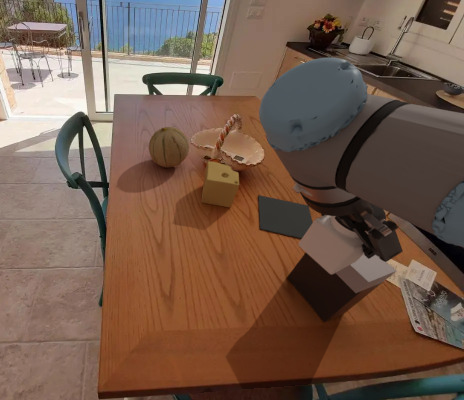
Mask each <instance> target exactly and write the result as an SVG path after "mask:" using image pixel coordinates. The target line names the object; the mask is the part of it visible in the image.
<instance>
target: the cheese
mask: <svg viewBox="0 0 464 400" xmlns="http://www.w3.org/2000/svg"><path fill="white" fill-rule="evenodd" d="M239 175H240V174H239V172H238V171H234V169H232V166H230V165H227V164H224V163H219V162H216V161H210V160H209V161H207V163H206V165H205V169H204V178H203V185H202V190H201V200H200V202H201V203H202V204H208V205H213V206H220V207H224V208H229V209H231V208H232V206H233V203H234V201H235V198H236V196H237V193H238V191H239V187H240V176H239Z"/></svg>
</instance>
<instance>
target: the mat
mask: <svg viewBox="0 0 464 400" xmlns="http://www.w3.org/2000/svg"><path fill="white" fill-rule="evenodd" d="M257 198H258V199H257V202H258V219H259V230H261V231H264V232H269V233H273V234H278V235H283V236H286V237H291V238H295V239H299V240H301V239H302V238H303V236H304V235H305V233H306V232H307V231H308V229H309V228H310V226H311V225H312V223H313V222H314V221H313V219H312V214H311V210H310V207H309V206H308V205H307V204H303V203H298V202H293V201H288V200H284V199H280V198H274V197H271V196H265V195H261V194H260V195H259V194H258V195H257Z"/></svg>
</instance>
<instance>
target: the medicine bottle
mask: <svg viewBox="0 0 464 400" xmlns="http://www.w3.org/2000/svg"><path fill="white" fill-rule="evenodd" d="M369 205H370V206H371V207H372V209H373V211H374V214H373V216H374V217H375V218H377V219H378V220H379V221H380V220H382V219H385V220H386V221H387V214H386V211H385V210H383V209H381V208H379V207H377V206H375V205H373V204H371V203H369ZM312 222H313V223H312V225H311V226H310V228H309V229H308V231H307V232H306V233H305V235H304V236H303V238H302V239H300V240H299V242H298V243H297V246H298V247H299V248H300V249H301V250H302V251H304V253H307V254H308V255H309V256H311V257H312V258H313V259H314V260H315V261H316V262H317V263H318V264H319V265H321V266H322V267H323V268H324V269H325V270H326V271H327V272H328V273H329V274H331V275H332V274H334V273H336V272H338V271H340V270H341V269H343V268H345V267H347V266H349V265H350V264H352V263H354V262H356V261H357V260H358V259H359V258H360V257H361V256H362V255H363V254H364V252H363V251H362V250H363V248H362V244H364V243H363V242H362V241H361V239H360V238H359V237H358V235H357V234H356V233H355V231H354V230H353V229H350V228H349V227H347V226H346V225H345V224H343V222H342V221H341V220H340V219H339V218H338V217H337V216H328V215H324V216H322V215H321V216H319V217H317V218H315V219H314V221H312Z"/></svg>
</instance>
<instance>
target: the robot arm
mask: <svg viewBox="0 0 464 400" xmlns="http://www.w3.org/2000/svg"><path fill="white" fill-rule="evenodd" d="M367 84H368V83H366V82H365V81H364V78H363V73H362V72H361V71H360V70H359V69H358V68H357V66H355V65H354V64H353V63H351V62H349V60H347V59H343V58H338V57H320V58H315V59H311V60H308V61H305V62H302V63H300V64H298V65H296V66H294V67H292V68H290V69H288V70H286V72H283V74H281V75H280V76H279V77H278V78H277V79H275V81H274V82H273V83H272V84H271V86H270V87H268V89H267V91H266V92H265V93H264V95H263V97H262V98H261V101H260V105H259V110H258V117H259V118H258V119H259V122H260V124H261V126H262V129H263V130H264V133H265V137H266V141H267V143H268V145H269V146H270V147H271V149H273V151H274V152H275V154H276V156H277V157H278V159H279V160H280V162H281V163H282V165H283V166H284V169H285V170H286V172H288V174H289V176H290V178H291V179H292V180H293V182H294V185H293V186H292V190H293V192H294V193H295V194H300V195H301V197H302V199H303V201H304V202H305V205H308V206H309V209H312V211H315V213H318V214H320V215H321V217H322V216H324V215H328V216H337V217H338V218H339V219H340V220H341V221H342V222H343V224H345V225H346V226H347V227H349V228H350V229H353V230H354V231H355V233H356V234H357V235H358V237H359V238H360V239H361V241H362V242H363V243H364V244H362V248H363V250H362V251H363V252H364V255H365V256H366V257H367V258H368V259H370V258H371V257H373V256H374V255H376V256H379V257H380V259H381V260H382V261H384V262H387V263H388V262H389V261H390V260H392V259H393V258H395V257H397V256H399V255H400V254H401V253H403V251H404V250H403V248H402V245H401V242H400V239H399V236H398V234H397V230H398V229H399V226H398V225H397V223H396V222H395V221H393V220H391V219H386V220H385V219H382V220H380V221H379V220H378V219H377V218H375V217H374V216H373V214H374V211H373V209H372V207H371V206H370V205H369V203H371V204H373V205H375V206H377V207H379V208H381V209H383V210H384V212H387V213H389V214H391V215H393V216H396V217H397V218H399V219H402V220H404V221H405V222H408V223H410V224H411V225H413V226H415V227H418V228H419V229H421V230H422V231H423V230H424V231H426V232H428V233H429V234H430V235H431V234H432V235H434V236H435V237H436V238H438V239H439V240H441V241H443V242H445V243H446V244H448V245H449V244H450V245H454V246H459V247H461V248H464V113H463V112H457V111H453V110H452V111H451V110H447V109H440V108H436V107H432V106H431V107H430V106H425V105H420V104H415V103H412V102H408V101H407V102H406V101H404V100H403V101H402V100H400V99H396V98H391V97H386V96H381V95H375V94H371V93H368V87H369V86H368V85H367Z"/></svg>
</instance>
